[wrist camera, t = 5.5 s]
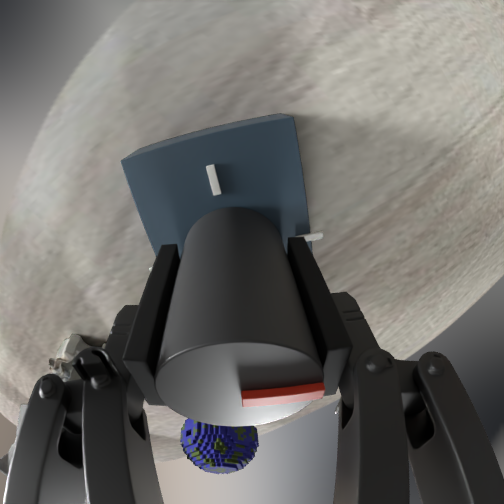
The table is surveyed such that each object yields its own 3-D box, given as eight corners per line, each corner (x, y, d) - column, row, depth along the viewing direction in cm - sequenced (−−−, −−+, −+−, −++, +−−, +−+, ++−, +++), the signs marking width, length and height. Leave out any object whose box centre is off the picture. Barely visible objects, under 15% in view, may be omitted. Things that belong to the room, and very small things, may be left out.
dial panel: (129, 152, 14) (107, 165, 11) (292, 111, 14) (307, 115, 11) (191, 312, 20) (187, 344, 18) (315, 287, 20) (327, 317, 17)
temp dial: (191, 293, 15) (175, 434, 8) (177, 210, 13) (127, 351, 6) (281, 288, 16) (313, 426, 9) (284, 204, 13) (343, 339, 6)
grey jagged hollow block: (60, 325, 21) (43, 359, 17) (134, 348, 22) (125, 386, 19) (75, 384, 25) (66, 411, 22) (134, 401, 27) (128, 431, 24)
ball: (268, 408, 29) (276, 467, 22) (228, 428, 31) (230, 480, 25) (210, 388, 26) (209, 456, 19) (174, 411, 28) (169, 468, 22)
